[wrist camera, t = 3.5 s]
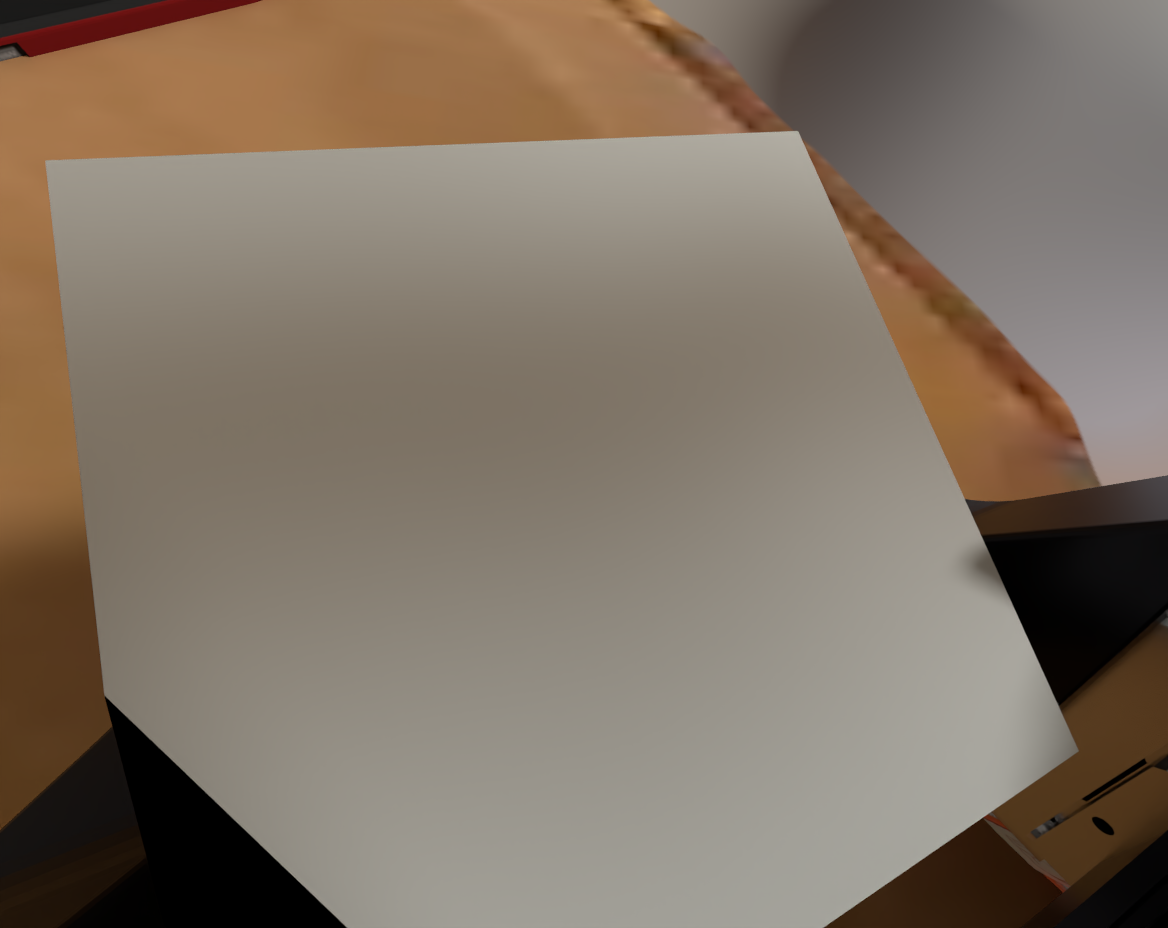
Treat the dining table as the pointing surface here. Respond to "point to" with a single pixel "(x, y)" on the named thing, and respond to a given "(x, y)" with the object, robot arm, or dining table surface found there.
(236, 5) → the cell phone
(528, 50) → the dining table surface
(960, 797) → the silver metal block
